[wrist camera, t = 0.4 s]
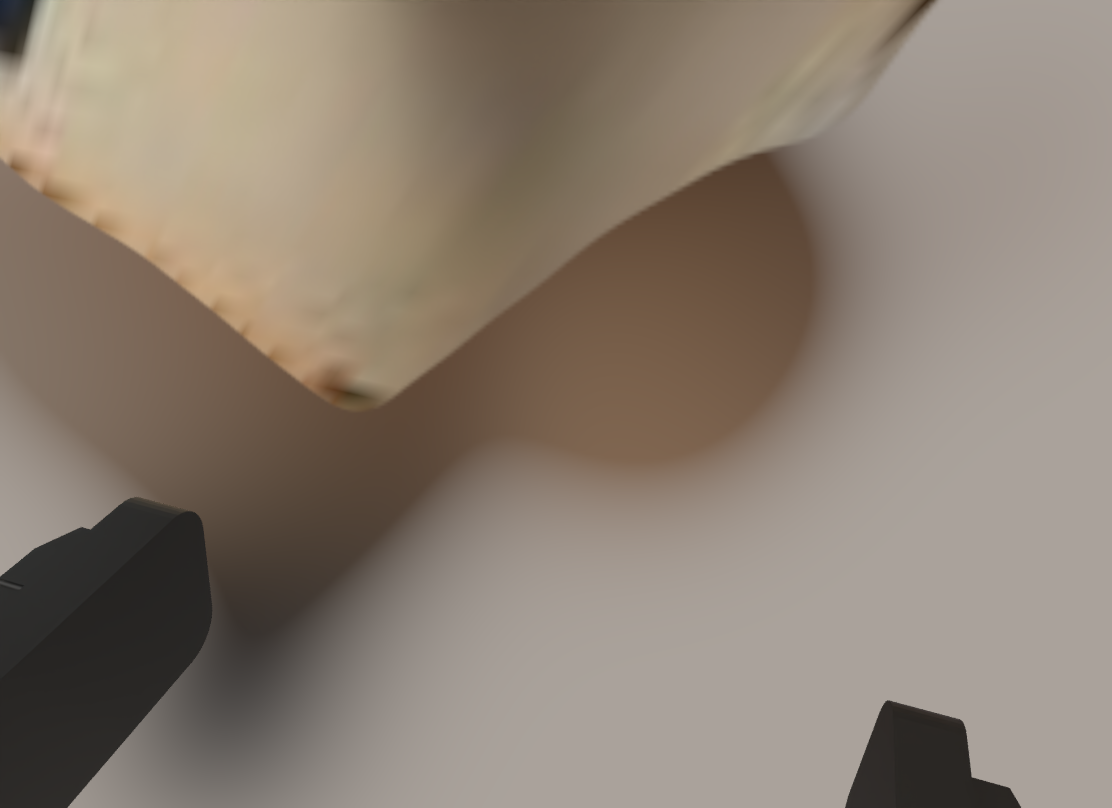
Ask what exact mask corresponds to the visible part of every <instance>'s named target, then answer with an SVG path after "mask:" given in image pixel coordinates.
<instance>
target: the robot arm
mask: <svg viewBox="0 0 1112 808" xmlns="http://www.w3.org/2000/svg"><path fill="white" fill-rule="evenodd" d="M211 618H212V601H211V594H210V583H209V575H208V566H207V557H206V548H205V540H204V531H203V525H202V521H201V519H200V517H199V516H198V515H197V514H196V513H195V512H192V511H188V510H184V509H181V508H177V507H173V506H170V505H166V504H162V503H158V502H155V501H151V500H147V499H143V498H139V497H135V498H130V499H128V500H126V501H124V502H123V503H122V504H120V505H119V506H118V507H117V508H116V509H114V510H113V511H112V512H111V513H110V514H109V515H107V516H106V517H105V518H104V519H103V520H101V521H100V522H99V523H98V524H97V525H95V526H94V527H93V528H92V529H91V530H90V529H86V528H83V527H82V528H79V529H76V530H74V531H72V532H70V533H68V534H66V535H63V536H61V537H59V538H57V539H55V540H52V541H50V542H48V543H46V544H44V545H41V546H39V547H37V548H35V549H34V550H32V551H31V552H30V553H29V554H28V555H26V556H25V557H24V558H23V559H21V560H20V561H19V562H18V563H17V564H15V565H14V566H13V567H12V568H10V569H9V570H8V571H7V572H5V573H4V574H3V575H2V576H1V577H0V808H67V807H68V806H69V805H70V804H71V803H72V801H73V800H74V799H75V798H76V797H77V795H78V794H79V793H80V792H81V791H82V790H83V788H84V787H85V786H86V785H87V784H88V782H89V781H90V780H91V779H92V778H93V777H94V776H95V775H96V773H97V772H98V771H99V770H100V769H101V767H102V766H103V765H104V764H105V763H106V762H107V761H108V759H109V758H110V757H111V756H112V755H113V754H114V752H115V751H116V750H117V749H118V748H119V747H120V745H121V744H122V743H123V742H124V741H125V739H126V738H127V737H128V736H129V735H130V734H131V733H132V731H133V730H134V729H135V728H136V727H137V726H138V724H139V723H140V722H141V721H142V720H143V719H144V717H145V716H146V715H147V714H148V713H149V712H150V710H151V709H152V708H153V707H154V706H155V705H156V703H157V702H158V701H159V700H160V699H161V697H162V696H163V695H164V694H165V693H166V692H167V691H168V689H169V688H170V687H171V686H172V685H173V683H174V682H175V681H176V680H177V679H178V678H179V676H180V675H181V674H182V673H183V672H184V671H185V670H186V668H187V667H188V666H189V665H190V664H191V663H192V661H193V660H194V659H195V657H196V656H197V654H198V653H199V651H200V650H201V648H202V646H203V644H204V642H205V639H206V637H207V634H208V631H209V627H210V624H211ZM845 808H1021V806H1020V805H1019V803H1018V801H1017V800H1016V798H1015V797H1014V795H1013V793H1012V791H1011V789H1010V788H1008V787H1004V786H1000V785H997V784H994V783H990V782H986V781H983V780H979V779H976V778H972V777H971V768H970V759H969V751H968V742H967V735H966V729H965V726H964V723H963V722H962V721H961V720H960V719H956V718H952V717H949V716H945V715H941V714H937V713H934V712H930V711H926V710H923V709H919V708H915V707H911V706H907V705H904V704H900V703H896V702H892V701H886V702H885V703H884V705H883V706H882V708H881V711H880V713H879V716H878V718H877V721H876V723H875V726H874V730H873V732H872V735H871V737H870V739H869V742H868V745H867V747H866V750H865V753H864V755H863V758H862V761H861V763H860V766H859V769H858V771H857V774H856V777H855V779H854V782H853V785H852V787H851V790H850V793H849V796H848V799H847V803H846V807H845Z"/></svg>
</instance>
